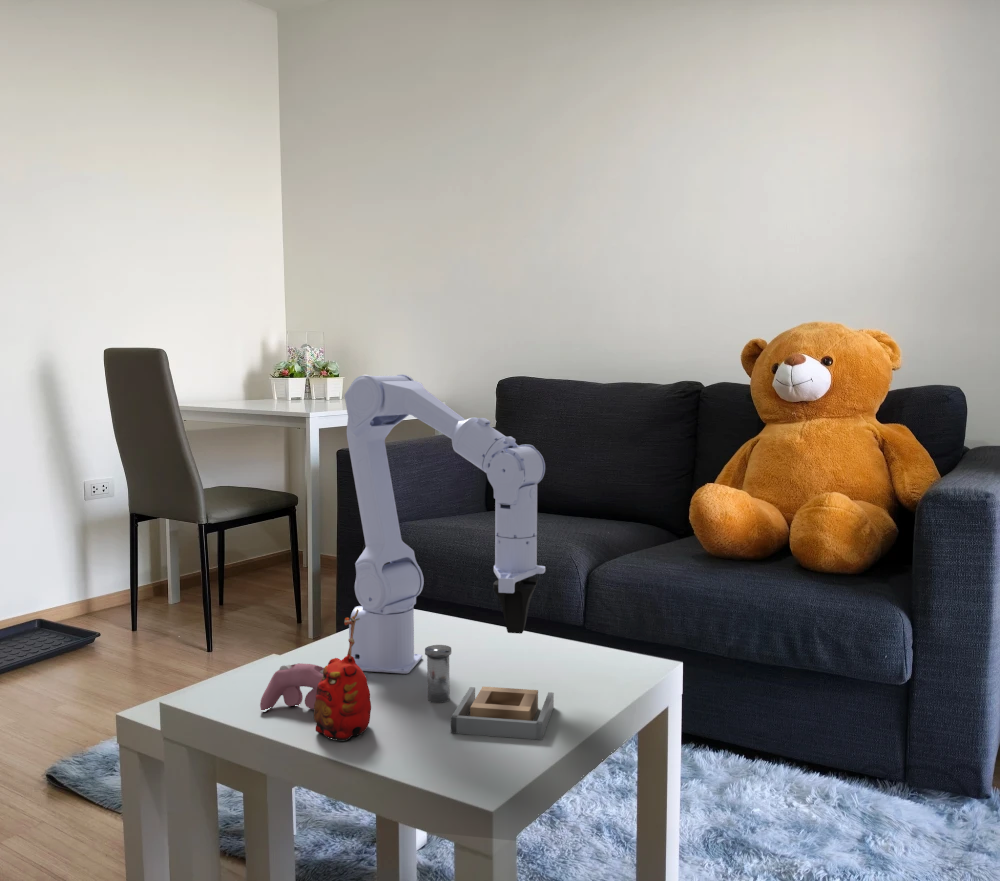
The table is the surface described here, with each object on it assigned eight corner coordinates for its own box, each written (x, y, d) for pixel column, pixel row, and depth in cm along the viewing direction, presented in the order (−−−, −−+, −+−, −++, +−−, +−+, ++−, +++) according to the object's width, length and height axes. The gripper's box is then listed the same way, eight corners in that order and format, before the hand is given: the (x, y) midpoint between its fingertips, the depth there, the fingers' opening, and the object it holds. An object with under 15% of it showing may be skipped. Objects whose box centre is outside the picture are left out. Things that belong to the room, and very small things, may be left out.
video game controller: (337, 723, 119) (347, 669, 122) (322, 719, 115) (333, 664, 117) (271, 714, 122) (283, 662, 124) (254, 711, 118) (266, 657, 120)
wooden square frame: (470, 726, 114) (470, 707, 114) (482, 704, 121) (482, 686, 121) (529, 730, 112) (529, 711, 112) (537, 708, 120) (537, 690, 120)
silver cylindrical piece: (422, 702, 122) (421, 652, 121) (430, 693, 125) (429, 644, 125) (447, 704, 121) (447, 653, 121) (454, 695, 125) (454, 645, 124)
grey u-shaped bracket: (451, 732, 112) (450, 717, 112) (470, 701, 122) (470, 687, 122) (541, 739, 110) (541, 723, 109) (553, 707, 120) (553, 692, 120)
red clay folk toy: (302, 730, 113) (300, 613, 111) (348, 715, 118) (346, 602, 116) (339, 748, 107) (336, 625, 106) (385, 731, 112) (383, 613, 111)
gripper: (536, 546, 115) (536, 649, 116) (552, 526, 129) (551, 618, 131) (482, 544, 117) (482, 646, 118) (504, 524, 131) (503, 616, 132)
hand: (515, 631), depth 124 cm, fingers closed
